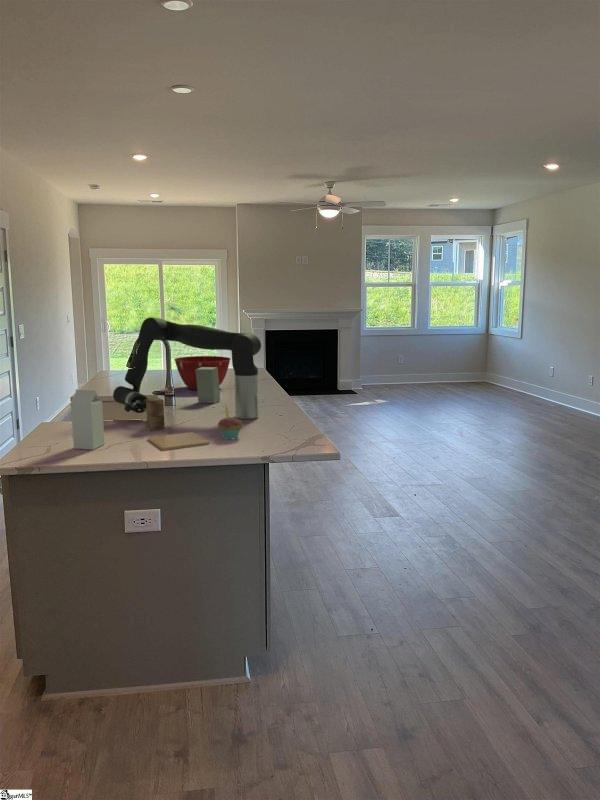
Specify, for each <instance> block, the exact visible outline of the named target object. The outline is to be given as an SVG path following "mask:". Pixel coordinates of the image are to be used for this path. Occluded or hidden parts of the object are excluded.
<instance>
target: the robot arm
mask: <svg viewBox="0 0 600 800" xmlns="http://www.w3.org/2000/svg"><path fill="white" fill-rule="evenodd" d="M163 337H164V338H163ZM159 338H160V339H161V340H160V339H159ZM154 341H167V342H177V343H181V344H182V345H185V346H188V347H191V348H196V349H200V350H207V351H208V350H211V351H212V350H213V351H215V350H216V351H222V350H223V351H230V352H231V363H232V364H231V365H232V368H233V371H234V405H235V407H234V409H235V412H234V413H235V418H237V419H239V420H249V419H251V420H252V419H259V417H260V411H259V410H260V407H259V403H260V400H259V396H260V395H259V370H258V369H259V367H258V366H256V365H255V359H254V356H255V355H257V354H258V353H259V352H260V351H261V348H262V344H261V339H260V338H259V337H258V336H257V335H255V334H253V333H248V332H247V333H245V332H244V333H243V332H232V331H227V330H223V329H219V328H214V327H210V326H205V325H200V324H181V323H180V324H179V323H176V322H171V321H169V320H166V319H163V318H158V317H151V316H150V317H147V318H144V320H143V322H142V323H141V326H140V329H139V332H138V338H137V341H136V345H137V343H138V345H139V343H140V342H141V343H140V345H139V347H138V350H137V354H136V351H135V350H134V353H133V356H132V360H131V362H130V364H129V366H130V367H129V366H128V369H127V371H126V374H125V376H124V381H125V382H126V383H128V384H129V385H131V386H132V388H129V387H126V386H123V385H119V386H117V387H116V388H115V389H114V390H113V393H112V398H113V400H114V402H117V403H118V404H122V405H123V410H124V411H125V412H127V413H129V412H130V411H131V412H134V413H136V414H141V413H142V414H143V413H144V412H147V409H146V399H149V398H148V397H147V396H146V395H144V394H142V393H140V392H141V391H140V390H141V385H142V382H143V380H144V377H145V374H146V372H147V371H148V361H149V352H150V348H151V346H152V344H153V342H154ZM138 345H137V346H138ZM136 348H137V347H136V346H135V349H136ZM134 367H135V368H134ZM129 368H133V369H129Z"/></svg>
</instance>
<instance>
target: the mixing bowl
mask: <svg viewBox="0 0 600 800" xmlns="http://www.w3.org/2000/svg"><path fill="white" fill-rule="evenodd" d="M173 360H174V362H175V366H176V369H177V371H178V374H179V376H180V378H181V380H182V382H183V384H184V385H185V386H186V387H187V388H189V389H190V390H193V391H194V390H196V391H197V379H196V369H198V368H201V367H218V379H219V387H220V385H222V383H223V381H224V380H225V378H226V376H227V372H228V370H229V366H230V361H232V358H231V357H227V356H220V355H219V356H215V355H200V356H199V355H196V356H195V355H193V356H192V355H191V356H182V357H181V356H180V357H176V358H174V359H173Z"/></svg>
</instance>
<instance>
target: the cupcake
mask: <svg viewBox="0 0 600 800" xmlns="http://www.w3.org/2000/svg"><path fill="white" fill-rule="evenodd" d="M225 413H226V414H225V415H226V417H224V418H222V419H220V420H219V421H218V423H217V425H218V426H217V427H218V430H220V431H221V433H222V437H223V439H225V438H227V439H226V440H233V439H232V438H236V439H238V438H239V433H240V431H241V429H242V428H243V422H242V419H240V418H236V417H234V416H232V417H230V416H229V410H228V406H227V405H225Z"/></svg>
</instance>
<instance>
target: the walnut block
mask: <svg viewBox="0 0 600 800" xmlns="http://www.w3.org/2000/svg"><path fill="white" fill-rule="evenodd" d="M164 402H165V401H164V399H162V398H161V397H153V398H152V397H151V398H148V399H146V409H147V410H146V426H147V429H148V428H149V429H150V431H151V430H154V431H160V430H161V429H162V430H166V427H165V424H166V423H165V406H164V405H165V403H164ZM149 429H148V430H149ZM162 430H161V431H162Z"/></svg>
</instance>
